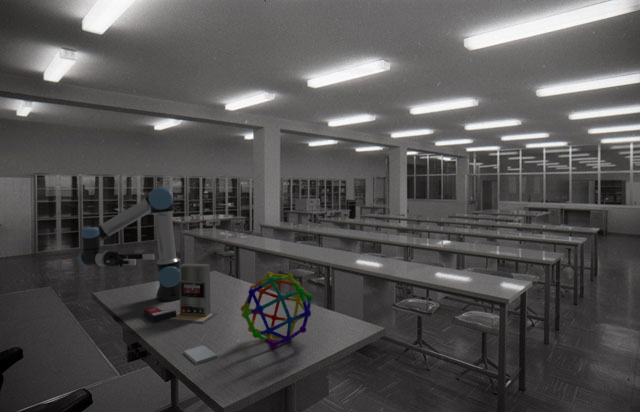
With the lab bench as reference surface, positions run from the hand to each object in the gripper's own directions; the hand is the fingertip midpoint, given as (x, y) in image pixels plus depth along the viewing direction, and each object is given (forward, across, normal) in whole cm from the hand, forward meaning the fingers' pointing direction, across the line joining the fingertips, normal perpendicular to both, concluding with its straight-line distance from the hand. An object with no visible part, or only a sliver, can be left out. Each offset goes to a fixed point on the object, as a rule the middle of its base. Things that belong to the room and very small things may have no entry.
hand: (145, 259), depth 182 cm
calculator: (+6, -1, -30) cm, 30 cm away
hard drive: (+48, +34, -30) cm, 66 cm away
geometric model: (+74, +17, -30) cm, 81 cm away
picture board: (+22, -4, -29) cm, 37 cm away
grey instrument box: (+22, -7, -29) cm, 37 cm away
